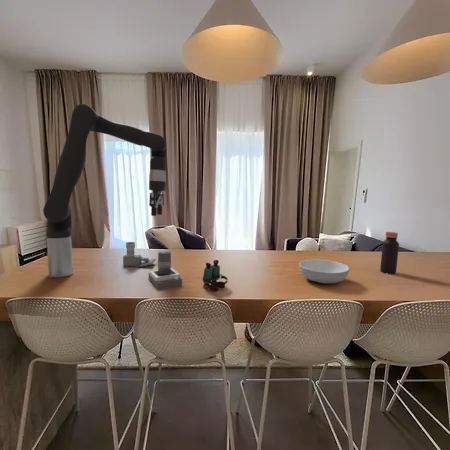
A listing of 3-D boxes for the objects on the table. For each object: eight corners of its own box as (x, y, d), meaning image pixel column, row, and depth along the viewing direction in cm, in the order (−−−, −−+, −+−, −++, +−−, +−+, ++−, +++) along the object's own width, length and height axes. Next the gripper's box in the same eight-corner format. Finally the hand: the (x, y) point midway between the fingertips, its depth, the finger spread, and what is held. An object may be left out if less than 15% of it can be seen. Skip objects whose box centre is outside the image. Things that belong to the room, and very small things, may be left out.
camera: (126, 241, 140) (155, 241, 141) (127, 263, 142) (155, 263, 142) (120, 244, 132) (151, 245, 132) (121, 267, 133) (151, 268, 134)
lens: (159, 278, 110) (159, 254, 109) (156, 274, 115) (156, 251, 114) (172, 277, 113) (172, 253, 111) (168, 273, 117) (169, 250, 116)
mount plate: (157, 289, 105) (157, 279, 105) (148, 278, 117) (148, 269, 117) (181, 285, 110) (181, 275, 110) (170, 275, 122) (170, 266, 122)
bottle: (396, 271, 135) (400, 232, 132) (395, 275, 129) (400, 234, 126) (380, 269, 138) (384, 231, 136) (379, 272, 133) (383, 232, 130)
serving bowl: (289, 275, 126) (289, 261, 125) (325, 271, 134) (326, 257, 133) (319, 291, 107) (320, 274, 106) (359, 285, 114) (360, 269, 113)
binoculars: (219, 269, 100) (200, 262, 106) (216, 295, 102) (198, 287, 108) (234, 264, 107) (215, 257, 113) (231, 289, 109) (213, 281, 115)
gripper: (154, 180, 133) (153, 213, 134) (144, 178, 118) (143, 215, 120) (169, 181, 132) (168, 214, 134) (160, 179, 118) (160, 216, 120)
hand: (156, 215), depth 127 cm, fingers open, 8 cm apart
